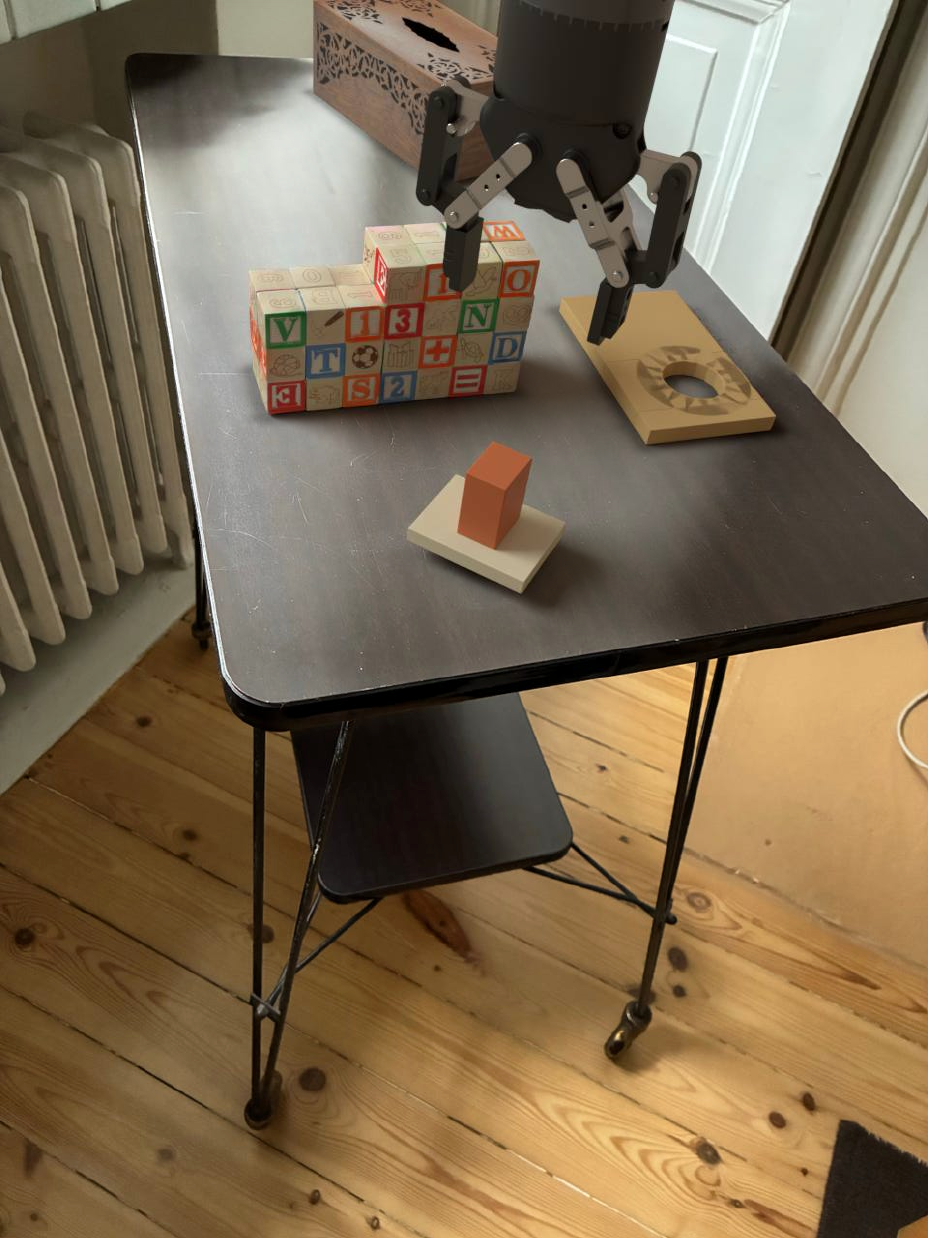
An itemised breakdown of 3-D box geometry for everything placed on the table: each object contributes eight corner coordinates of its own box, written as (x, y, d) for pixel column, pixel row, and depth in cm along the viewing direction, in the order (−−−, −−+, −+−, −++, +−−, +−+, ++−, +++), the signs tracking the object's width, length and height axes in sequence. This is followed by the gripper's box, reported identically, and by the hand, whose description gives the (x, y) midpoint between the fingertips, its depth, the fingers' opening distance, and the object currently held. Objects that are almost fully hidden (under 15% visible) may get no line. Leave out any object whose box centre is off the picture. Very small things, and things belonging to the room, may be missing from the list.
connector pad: (559, 547, 72) (582, 462, 66) (518, 606, 68) (538, 521, 62) (452, 499, 74) (465, 412, 68) (405, 553, 70) (414, 466, 64)
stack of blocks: (266, 417, 78) (260, 275, 69) (252, 371, 82) (244, 230, 72) (517, 391, 84) (542, 257, 75) (493, 349, 88) (514, 216, 79)
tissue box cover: (313, 92, 119) (313, -1, 112) (410, 76, 126) (416, -12, 119) (436, 185, 107) (446, 88, 100) (537, 162, 114) (553, 69, 106)
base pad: (771, 430, 85) (778, 415, 84) (645, 444, 81) (650, 430, 80) (672, 302, 97) (676, 289, 96) (558, 311, 93) (561, 297, 92)
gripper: (407, -41, 42) (386, 297, 55) (719, 53, 39) (622, 389, 51) (483, -75, 47) (448, 243, 59) (767, 6, 44) (668, 325, 56)
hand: (529, 311), depth 55 cm, fingers open, 8 cm apart
